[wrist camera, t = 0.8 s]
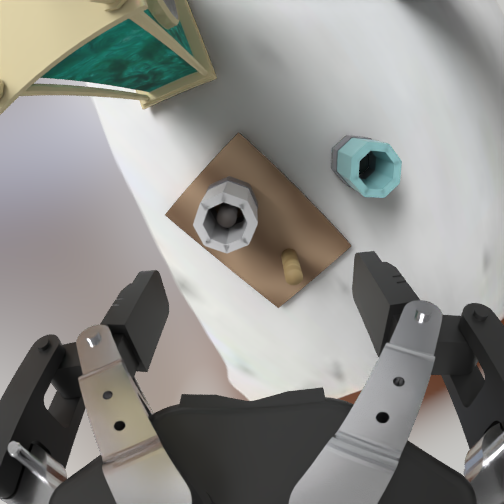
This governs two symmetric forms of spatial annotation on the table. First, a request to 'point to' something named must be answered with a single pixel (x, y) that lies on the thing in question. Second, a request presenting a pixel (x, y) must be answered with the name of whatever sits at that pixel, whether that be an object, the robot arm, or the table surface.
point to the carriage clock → (101, 48)
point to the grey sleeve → (244, 226)
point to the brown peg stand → (265, 224)
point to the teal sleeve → (376, 175)
